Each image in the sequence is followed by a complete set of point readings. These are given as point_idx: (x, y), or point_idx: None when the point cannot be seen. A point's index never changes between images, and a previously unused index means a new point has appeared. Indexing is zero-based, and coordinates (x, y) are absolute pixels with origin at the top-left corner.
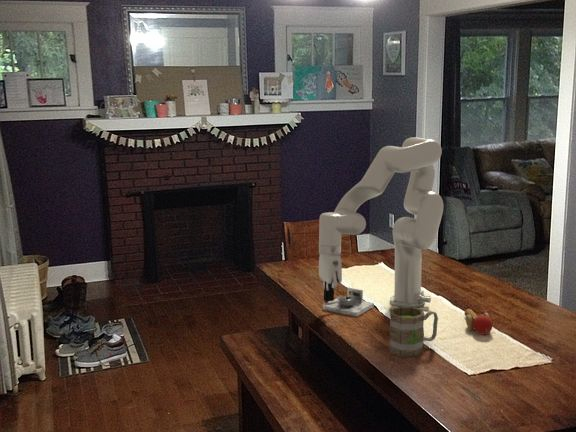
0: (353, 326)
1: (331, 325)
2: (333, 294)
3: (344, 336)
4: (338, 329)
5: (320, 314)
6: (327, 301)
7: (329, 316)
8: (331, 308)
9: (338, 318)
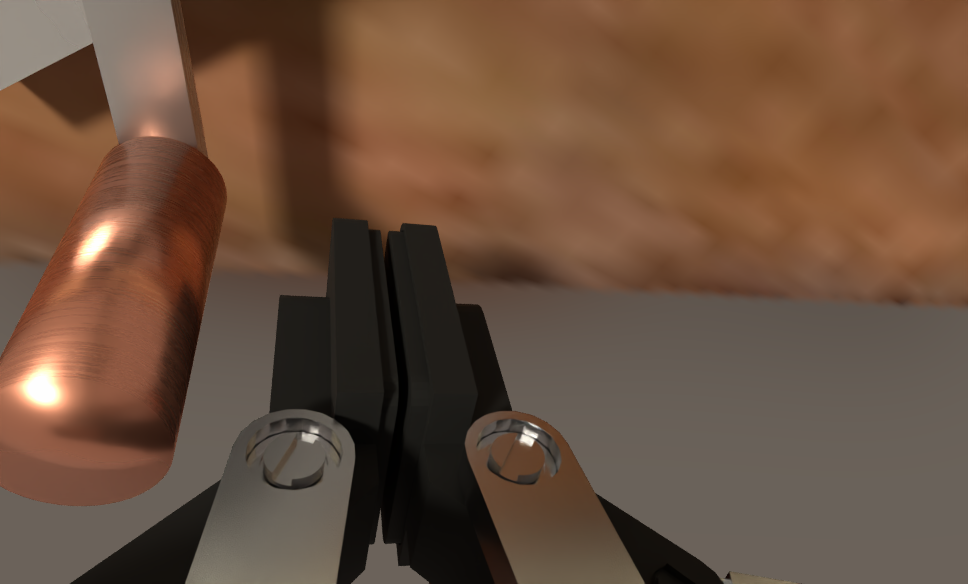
0: (872, 54)
1: (646, 256)
2: (449, 310)
3: (938, 278)
4: (783, 247)
5: (231, 203)
6: (221, 211)
7: (371, 136)
8: None
9: (516, 66)
